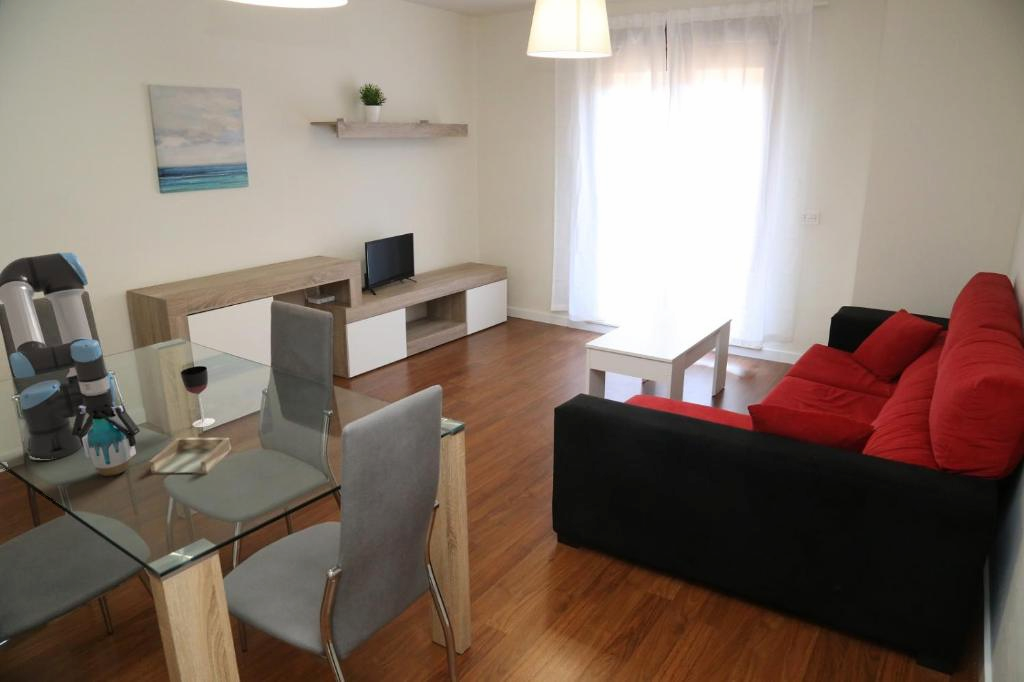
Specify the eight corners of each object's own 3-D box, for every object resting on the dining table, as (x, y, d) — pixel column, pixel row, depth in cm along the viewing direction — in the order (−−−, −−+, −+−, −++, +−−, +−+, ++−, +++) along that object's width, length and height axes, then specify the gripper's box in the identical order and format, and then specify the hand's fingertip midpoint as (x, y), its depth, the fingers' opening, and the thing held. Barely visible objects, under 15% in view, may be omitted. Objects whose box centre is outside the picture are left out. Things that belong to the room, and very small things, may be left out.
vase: (118, 482, 210) (103, 424, 204) (87, 479, 212) (73, 422, 206) (142, 465, 220) (129, 409, 214) (113, 463, 222) (99, 408, 216)
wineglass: (221, 419, 251) (211, 367, 245) (202, 429, 244) (191, 376, 238) (205, 416, 255) (195, 365, 248) (185, 425, 247) (175, 373, 241)
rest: (151, 473, 215) (148, 461, 213) (179, 448, 230) (177, 437, 229) (207, 473, 213) (205, 462, 212) (232, 448, 229) (230, 437, 228)
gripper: (47, 396, 205) (65, 461, 212) (128, 396, 203) (143, 461, 210) (65, 386, 212) (81, 449, 219) (143, 386, 210) (156, 449, 217)
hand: (111, 455), depth 214 cm, fingers open, 13 cm apart
